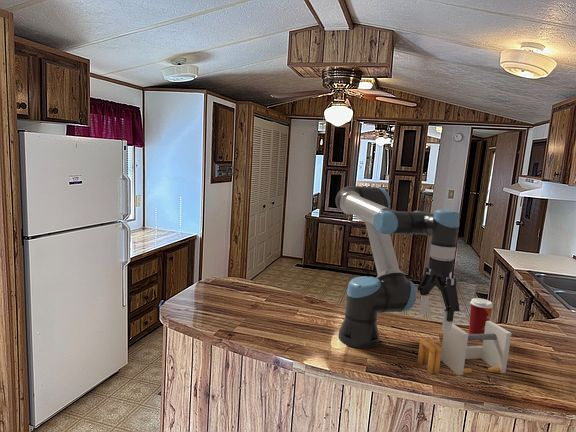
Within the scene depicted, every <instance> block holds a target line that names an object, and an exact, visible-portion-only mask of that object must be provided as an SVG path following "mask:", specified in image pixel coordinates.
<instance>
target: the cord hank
mask: <svg viewBox="0 0 576 432" xmlns="http://www.w3.org/2000/svg"><path fill="white" fill-rule="evenodd" d="M441 347H442V346H440V345H438V344H437V343H436V342H435V341H434V340H432V339H431V338H429V337H427V338H426V339H425V338H420V340H419V347H418V353H417V354H418V355H417V364H418V365H427V369H426V373H427V374H429V375H433V374H434V375H435V374H436V375H437V374H440V367H441V351H442V349H441Z"/></svg>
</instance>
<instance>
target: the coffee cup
mask: <svg viewBox="0 0 576 432" xmlns="http://www.w3.org/2000/svg"><path fill="white" fill-rule="evenodd" d="M469 303H470V309H469V310H470V312H469V323H468V325H469V326H468V327H469V328H468V334H484V331H485V325H486V321H490V317H491V312H492V309H493V308H494V307H493V303H492V301H490V300H488V299H485V298H479V297H475V298H474V297H473V298H472V299H471V301H470V302H469Z"/></svg>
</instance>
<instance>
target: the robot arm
mask: <svg viewBox="0 0 576 432" xmlns="http://www.w3.org/2000/svg"><path fill="white" fill-rule="evenodd" d="M335 205H336V208H337V209H338V210H339V211H340V212H342V213H344V214H345V215H353V216H354V217H357V218H359V219H360V221H362V222H364V223H365V228H366V232H367V236H368V240H369V244H370V248H371V251H372V252H371V253H372V257H373V260H374V265H375V268H376V274H377V276H376V277H374V276H367V275H365V276H357V277H354V278H351V280H350V281H349V282H348V286H347V290H346V302H345V303H346V304H345V315H344V319H343V321H342V322H341V325H340V327H339V330H338V339H339V340H340V342H342V344H345V345H347V346H350V347H354V348H357V349H371V348H374V347H377V346H378V345H379V343H380V334H379V329H378V323H377V319H378V314H382V313H396V312H397V313H402V312H408V311H410V310H411V309H412V308H414V305H415V304H416V301H417V291H418V292H419V294H420V300H419V310H418V314H420V315H428V312H429V311H428V310H429V302H430V292H431V291H432V290H433V289H434V288H435V287H436V288H438V290H439V291H440V292H441V295H442V296H441V297H442V300H443V302H444V306H445V309H444V311H443V317H442V325H441V331H442V332H444V331H451V327H452V323H453V321H454V315H455V312H460V310H461V309H460V304H459V303H460V302H459V297H458V291H457V279H456V277H455V278H451V276H450V275H451V273H453V272H454V267H455V259H456V258H455V257H456V251H457V250H456V249H457V242H458V235H459V228H460V215H461V214H460V213H459V211H456V210H451V209H441V208H439V209H436V210H434V213H431V212H427V211H425V210H414V211H400V210H393V209H392V208H391V197H390V195H389V193H388V191H387V190H386V189H384V187H383V188H382V187H378V186H361V185H360V186H359V185H350V186H349V185H348V186H345V187H343V188H341V189H340V190H339V191H338V192H337V194H336V196H335ZM391 235H423V236H428V237H431V241H430V249H429V258H428V267H425V268H424V272H423V275H422V278H421V280H420V282H419V285H418V286H417V288H416V286H415V283H414V282H413V281H412V280H409V279H407V277H406V274H405V272H404V271H402V270H400V267H399V263H398V259H397V256H396V251H395V248H394V245H393V241H392V238H391Z"/></svg>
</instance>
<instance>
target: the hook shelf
mask: <svg viewBox="0 0 576 432" xmlns="http://www.w3.org/2000/svg"><path fill="white" fill-rule="evenodd" d="M442 336H443V337H442V342H441V343H442V344H441V346H440V347H441V349H442V351H441V360H440V362H442V363H443V364H444V365H446V366H447V367H448V368H449V369H450V370H451V371H452V372H454V374H456V375H457V376H463V375H466V374H472V373H473V369H472V368H471V367H466V368H465V361H466V360H467V359H468V360H472V359H473V360H475V359H481V360H482V361H484V362H485V363H486V364H487V365H489V366H490V367H488V368H487V370H488V372H489V373H499V374H506V371H507V366H508V365H507V364H508V359H509V352H510V346H511V340H512V332H511V331H509V330H507V329H505V328H504V327H501V326H500V325H498V324H497V323H495V322H494V321H491V320H489V321H486V325H485V331H484V334H469V332H466V331H464V330H463V329H462V328H460V327H459V326H457V325H456V324H454V322H452V327H451V331H443V335H442ZM468 341H482V344H481V345H468Z"/></svg>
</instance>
